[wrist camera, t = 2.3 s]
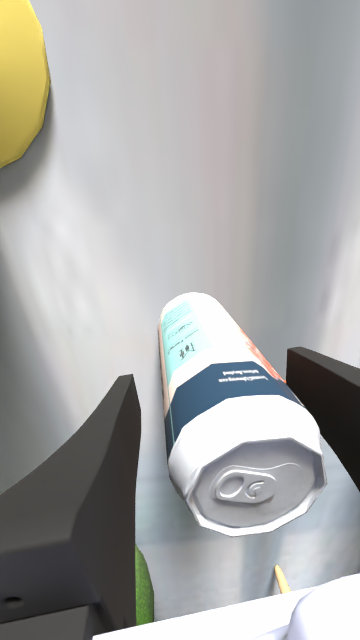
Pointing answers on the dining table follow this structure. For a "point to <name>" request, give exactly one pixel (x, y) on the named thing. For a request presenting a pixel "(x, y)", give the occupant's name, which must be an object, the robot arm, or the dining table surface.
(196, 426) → the beer can
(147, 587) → the avocado
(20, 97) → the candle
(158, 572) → the dining table surface
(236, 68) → the dining table surface
